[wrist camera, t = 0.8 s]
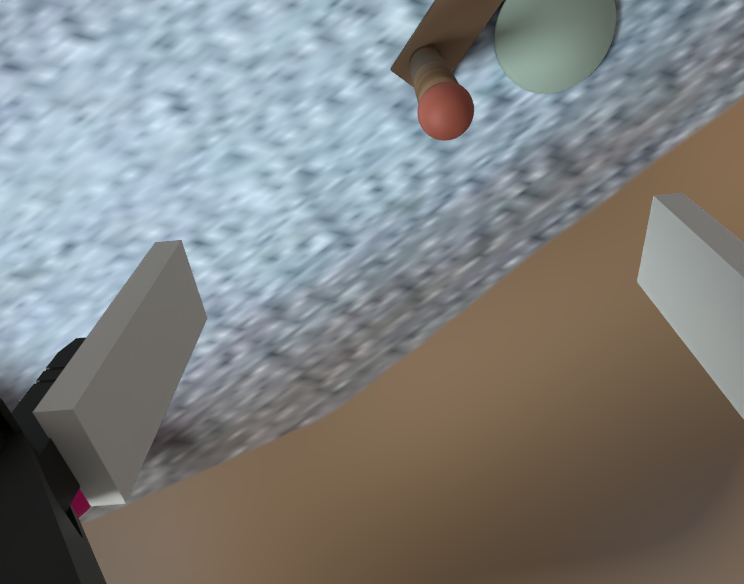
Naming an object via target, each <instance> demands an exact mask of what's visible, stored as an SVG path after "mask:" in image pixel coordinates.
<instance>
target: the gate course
mask: <svg viewBox="0 0 744 584" xmlns="http://www.w3.org/2000/svg"><path fill="white" fill-rule="evenodd" d="M502 2H503V0H435V1H434V3H433V4H432V6H431V7H430V9H429V10H428V12H427V13H426V15H425V16H424V18H423V19H422V21H421V22H420V24H419V25H418V27H417V29H416V30H415V32H414V33H413V35H412V36H411V38H410V39H409V41H408V42H407V44H406V45H405V47H404V48H403V50H402V51H401V53H400V55H399V56H398V58H397V59H396V61H395V62H394V64H393V65H392V67H391V71H392V72H394V73H395V74H396V75H398V76H399V77H400V78H402V79H403V80H405V81H406V82H407V83H409V84H410V85H411V86H413V87H414V89H415V93H416V97H417V100H418V120H419V123H420V125H421V127H422V129H423V130H424V131H425V132H426V133H427V134H428V135H429V136H431V137H432V138H435V139H438V140H451V139H455V138H457V137H459V136H460V135H462V134H463V133H464V132H465V131H466V130H467V129H468V127H469V126H470V124H471V122H472V119H473V115H474V104H473V100H472V98H471V96H470V94H469V92H468V91H467V90H466V89H465V88H464V87H463V86H461V85H459V83H458V82H457V80H456V78H455V77H454V75H453V73H452V72H453V70H454V69H455V67H456V66H457V65H458V63H459V62H460V60H461V59H462V58H463V56H464V55H465V53H466V52H467V51H468V49H469V48H470V46H471V45H472V44H473V42H474V41H475V39H476V38H477V37H478V35H479V34H480V32H481V31H482V30H483V28H484V27H485V25H486V24H487V23H488V21H489V20H490V18H491V17H492V16H493V14H494V13H495V11H496V10H497V9H498V7H499V6H500V4H501V3H502Z"/></svg>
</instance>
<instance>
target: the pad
mask: <svg viewBox="0 0 744 584" xmlns="http://www.w3.org/2000/svg"><path fill="white" fill-rule="evenodd" d="M615 27H616V6H615V1H614V0H504V2H503V4H502V6H501V8H500V11H499V13H498V16H497V20H496V24H495V30H494V47H495V53H496V56H497V60H498V62H499V64H500V66H501V68H502V70H503V71H504V73H505V74H506V75H507V76H508V77H509V78H510V79H511V80H512V81H513V82H514V83H515V84H516V85H518V86H519V87H521V88H523V89H525V90H528V91H531V92H535V93H556V92H560V91H564V90H566V89H569V88H571V87H573V86H575V85H577V84H578V83H580V82H581V81H583V80H584V79H585V78H587V77H588V76H589V75H590V74H591V73H592V72H593V71H594V70H595V69H596V68H597V67H598V65H599V64H600V63H601V61H602V60H603V58H604V57H605V55H606V54H607V52H608V49H609V47H610V45H611V42H612V40H613V37H614V32H615Z"/></svg>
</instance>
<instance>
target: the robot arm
mask: <svg viewBox="0 0 744 584" xmlns="http://www.w3.org/2000/svg"><path fill="white" fill-rule="evenodd" d="M637 282H638V284H639V285H640V286H641V287H642V289H643V290H644V291H645V293H646V294H647V295H648V296H649V298H650V299H651V300H652V302H653V303H654V304H655V305H656V306H657V308H658V309H659V311H660V312H661V313H662V314H663V316H664V317H665V318H666V320H667V321H668V322H669V323H670V325H671V326H672V327H673V329H674V330H675V331H676V332H677V334H678V335H679V336H680V338H681V339H682V340H683V342H684V343H685V344H686V345H687V347H688V348H689V349H690V351H691V352H692V353H693V355H694V356H695V357H696V358H697V360H698V361H699V362H700V364H701V365H702V366H703V367H704V369H705V370H706V371H707V373H708V374H709V375H710V376H711V377H712V379H713V380H714V382H715V383H716V384H717V385H718V387H719V388H720V389H721V391H722V392H723V393H724V395H725V396H726V397H727V398H728V400H729V401H730V402H731V404H732V405H733V406H734V407H735V409H736V410H737V411H738V413H739V414H740V415H741V416H742V418H743V419H744V243H743V242H742V241H741V240H740V239H738V238H737V237H736V236H735V235H733V234H732V233H731V232H730V231H729V230H727V229H726V228H725V227H724V226H723V225H721V224H720V223H719V222H718V221H716V220H715V219H714V218H713V217H711V216H710V215H709V214H708V213H707V212H705V211H704V210H703V209H702V208H700V207H699V206H698V205H697V204H696V203H694V202H693V201H692V200H691V199H689V198H688V197H687V196H686V195H684V194H683V193H677V194H666V195H657V196H653V201H652V207H651V212H650V217H649V222H648V227H647V232H646V238H645V243H644V248H643V253H642V258H641V264H640V269H639V274H638V280H637ZM206 320H207V316H206V313H205V310H204V307H203V304H202V301H201V298H200V295H199V292H198V289H197V286H196V283H195V280H194V277H193V274H192V271H191V268H190V265H189V262H188V259H187V256H186V253H185V249H184V246H183V243H182V240H176V241H165V242H155V243H154V245H153V246H152V248H151V249H150V250H149V252H148V253H147V255H146V256H145V257H144V259H143V260H142V261H141V263H140V264H139V266H138V267H137V268H136V270H135V271H134V273H133V274H132V275H131V277H130V278H129V279H128V281H127V282H126V284H125V285H124V286H123V288H122V289H121V291H120V292H119V293H118V295H117V296H116V297H115V299H114V300H113V302H112V303H111V304H110V306H109V307H108V309H107V310H106V311H105V313H104V314H103V316H102V317H101V318H100V320H99V321H98V322H97V324H96V325H95V327H94V328H93V329H92V331H91V332H90V334H89V335H88V336H87V338H76V339H75V340H74V341H72V342H71V343H70V344H69V345H67V346H66V347H65V348H63V349H62V350H61V351H59V352H58V353H57V354H56V356H55V357H54V358H53V360H52V361H51V362H50V364H49V365H48V366H47V367H46V371H43V373H42V374H41V375H40V377H39V378H38V379H37V381H36V382H37V383H36V384H33V386H32V387H31V388H30V390H29V391H28V392H27V394H26V395H25V396H24V398H23V399H22V400H21V401H20V403H19V404H18V405H17V407H16V408H15V409H14V411H13V412H12V413H11V412H10V411H9V409H8V408H7V406H6V405H5V403H4V402H3V400H2V399H1V398H0V584H106V581H105V579H104V577H103V574H102V572H101V570H100V567H99V565H98V563H97V560H96V558H95V556H94V553H93V551H92V549H91V546H90V544H89V542H88V539H87V537H86V535H85V532H84V530H83V528H82V525H81V523H80V520H79V518H78V516H77V514H76V512H75V511H74V509H73V508H72V506H71V503H72V501H73V500H74V498H75V496H76V494H77V492H78V490H79V488H80V490H81V491H82V493H83V494H84V496H85V498H86V499H87V501H88V502H89V504H90V506H98V505H113V504H126V502H127V500H128V498H129V496H130V493H131V491H132V489H133V487H134V484H135V482H136V480H137V477H138V475H139V473H140V471H141V468H142V466H143V464H144V461H145V459H146V457H147V455H148V452H149V450H150V448H151V445H152V443H153V441H154V439H155V436H156V434H157V432H158V430H159V427H160V425H161V423H162V420H163V418H164V416H165V414H166V411H167V409H168V407H169V404H170V402H171V400H172V398H173V395H174V393H175V391H176V388H177V386H178V384H179V382H180V379H181V377H182V375H183V373H184V370H185V368H186V366H187V363H188V361H189V359H190V357H191V354H192V352H193V350H194V347H195V345H196V343H197V341H198V338H199V336H200V334H201V331H202V329H203V327H204V325H205V322H206Z"/></svg>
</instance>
